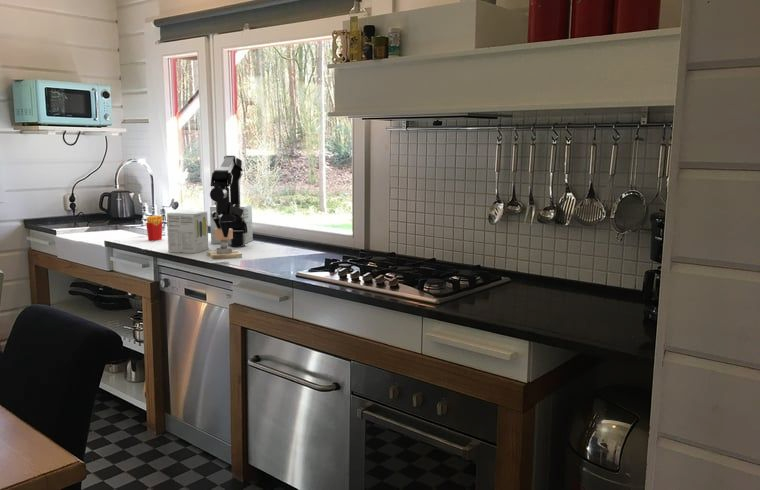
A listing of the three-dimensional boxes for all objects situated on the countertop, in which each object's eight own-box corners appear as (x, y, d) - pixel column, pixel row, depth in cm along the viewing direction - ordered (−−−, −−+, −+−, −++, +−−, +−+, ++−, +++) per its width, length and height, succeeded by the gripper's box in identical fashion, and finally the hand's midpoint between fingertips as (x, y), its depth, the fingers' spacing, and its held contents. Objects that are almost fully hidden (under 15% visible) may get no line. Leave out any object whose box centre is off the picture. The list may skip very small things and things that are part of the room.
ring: (213, 237, 273) (213, 228, 273) (230, 236, 277) (229, 227, 276) (217, 240, 267) (217, 230, 267) (234, 239, 270) (233, 229, 270)
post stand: (207, 254, 276) (206, 235, 274) (234, 252, 281) (234, 233, 280) (213, 259, 265) (212, 239, 264) (241, 257, 270) (241, 237, 269)
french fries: (150, 241, 313) (149, 216, 312) (145, 240, 316) (144, 216, 314) (165, 239, 320) (164, 215, 318) (160, 238, 322) (159, 214, 321)
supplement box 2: (253, 240, 319) (252, 204, 316) (245, 244, 306) (244, 206, 303) (219, 239, 321) (218, 203, 318) (210, 243, 307) (209, 206, 305)
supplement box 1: (195, 253, 279) (193, 213, 276) (167, 252, 281) (166, 212, 279) (209, 248, 292) (208, 210, 289) (182, 247, 294) (181, 209, 292)
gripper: (247, 200, 265) (248, 238, 267) (236, 197, 281) (237, 232, 284) (220, 201, 260) (221, 239, 262) (210, 198, 276) (211, 233, 279)
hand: (223, 236), depth 272 cm, fingers closed on ring, 7 cm apart
